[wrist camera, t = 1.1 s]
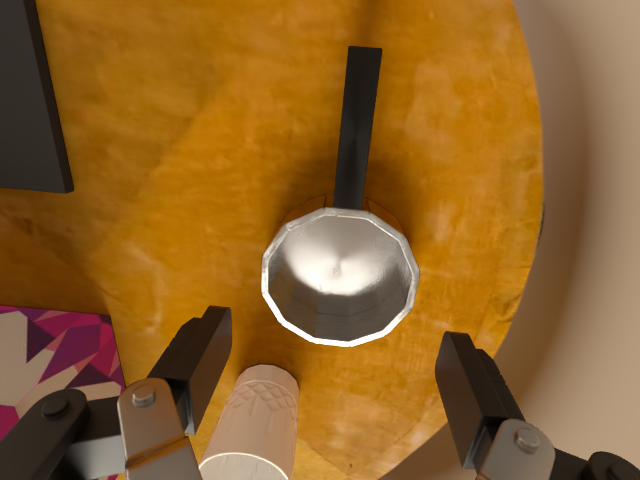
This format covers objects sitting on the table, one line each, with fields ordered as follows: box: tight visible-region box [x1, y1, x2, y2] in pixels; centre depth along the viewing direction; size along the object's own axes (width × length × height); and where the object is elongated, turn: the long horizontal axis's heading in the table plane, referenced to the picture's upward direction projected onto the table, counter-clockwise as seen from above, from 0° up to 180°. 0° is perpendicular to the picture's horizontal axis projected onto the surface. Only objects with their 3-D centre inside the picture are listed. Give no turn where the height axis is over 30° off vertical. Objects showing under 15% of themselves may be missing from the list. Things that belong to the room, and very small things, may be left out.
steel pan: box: [261, 46, 420, 347], centre depth 27 cm, size 22×12×4 cm, turn 175°
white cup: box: [198, 364, 299, 480], centre depth 32 cm, size 8×8×10 cm
